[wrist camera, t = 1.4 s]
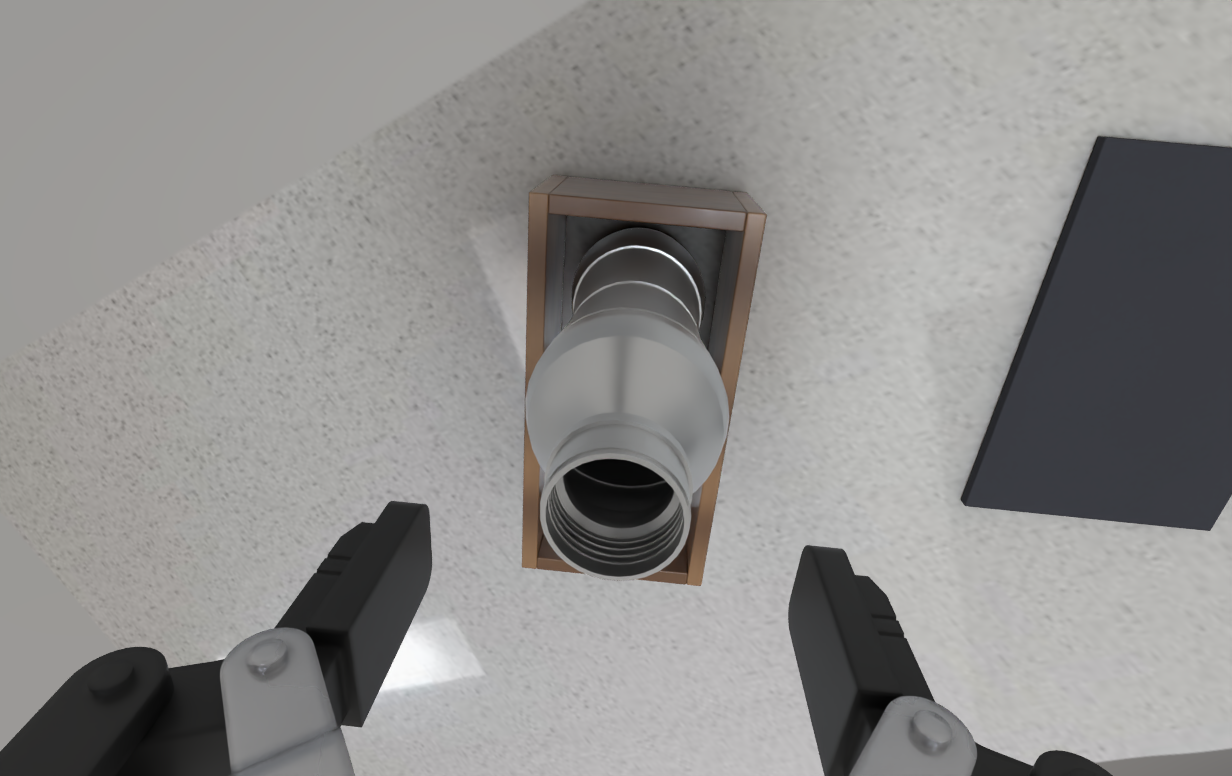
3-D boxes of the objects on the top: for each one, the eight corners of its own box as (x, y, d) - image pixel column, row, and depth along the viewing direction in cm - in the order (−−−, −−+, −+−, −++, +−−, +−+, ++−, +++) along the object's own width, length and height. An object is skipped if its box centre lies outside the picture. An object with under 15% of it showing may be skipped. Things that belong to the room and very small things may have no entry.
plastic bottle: (688, 204, 31) (727, 361, 13) (713, 331, 34) (773, 608, 16) (563, 234, 32) (435, 419, 14) (596, 355, 35) (526, 642, 17)
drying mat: (1097, 136, 29) (1106, 136, 28) (1414, 163, 28) (1429, 165, 28) (960, 500, 37) (964, 506, 37) (1202, 524, 37) (1210, 531, 36)
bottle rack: (551, 174, 31) (528, 192, 25) (748, 192, 31) (767, 213, 25) (540, 501, 39) (521, 567, 34) (695, 517, 39) (701, 586, 33)
